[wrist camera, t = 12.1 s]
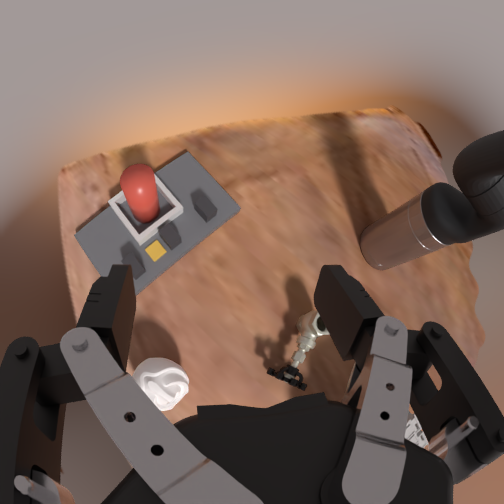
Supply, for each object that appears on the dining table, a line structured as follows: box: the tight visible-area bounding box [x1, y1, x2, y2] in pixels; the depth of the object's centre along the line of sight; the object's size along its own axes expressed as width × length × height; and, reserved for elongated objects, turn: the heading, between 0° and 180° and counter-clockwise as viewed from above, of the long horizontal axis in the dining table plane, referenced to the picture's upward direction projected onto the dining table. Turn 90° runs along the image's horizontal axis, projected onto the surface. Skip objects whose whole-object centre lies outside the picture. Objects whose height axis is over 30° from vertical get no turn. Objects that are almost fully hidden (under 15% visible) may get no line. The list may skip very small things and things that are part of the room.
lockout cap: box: [120, 164, 160, 223], centre depth 38 cm, size 5×5×10 cm
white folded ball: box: [132, 357, 189, 411], centre depth 35 cm, size 8×8×8 cm
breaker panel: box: [74, 152, 241, 295], centre depth 42 cm, size 24×14×4 cm, turn 133°
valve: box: [267, 311, 329, 391], centre depth 41 cm, size 7×7×12 cm
